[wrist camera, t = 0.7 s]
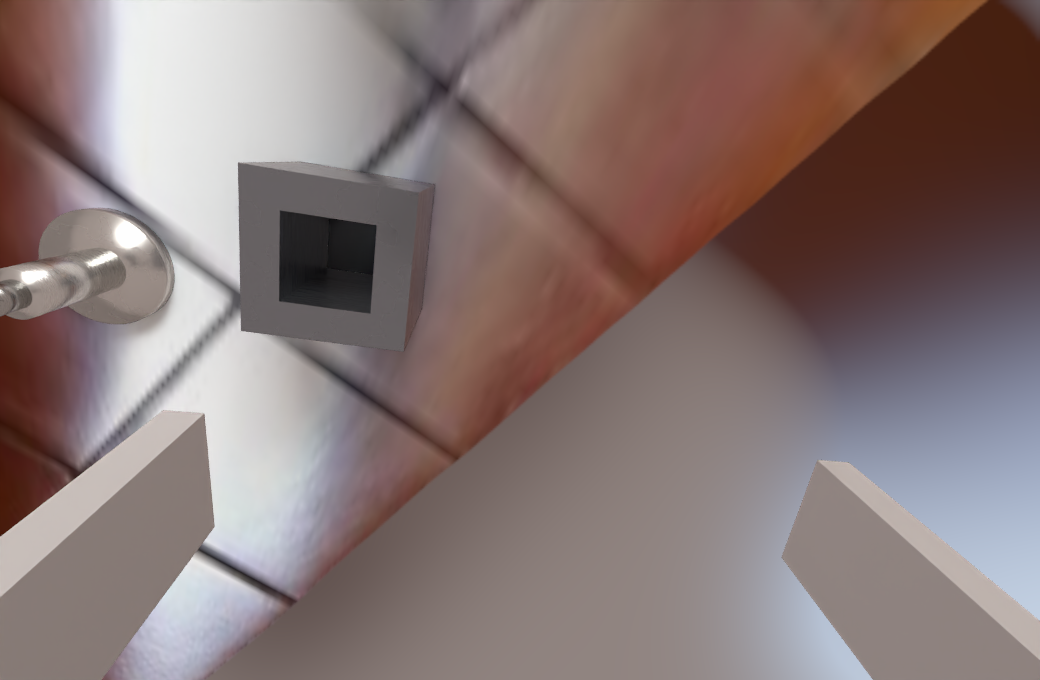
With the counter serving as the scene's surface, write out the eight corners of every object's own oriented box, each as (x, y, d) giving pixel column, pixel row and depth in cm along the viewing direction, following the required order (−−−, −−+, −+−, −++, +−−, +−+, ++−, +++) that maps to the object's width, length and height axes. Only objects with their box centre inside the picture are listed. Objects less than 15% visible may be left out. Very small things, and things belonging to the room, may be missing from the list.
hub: (44, 198, 30) (-118, 213, 22) (170, 217, 30) (59, 238, 23) (60, 311, 32) (-81, 362, 24) (177, 326, 33) (78, 380, 25)
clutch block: (300, 161, 30) (238, 162, 22) (435, 184, 31) (418, 192, 23) (297, 291, 32) (241, 330, 25) (422, 308, 33) (403, 351, 26)
